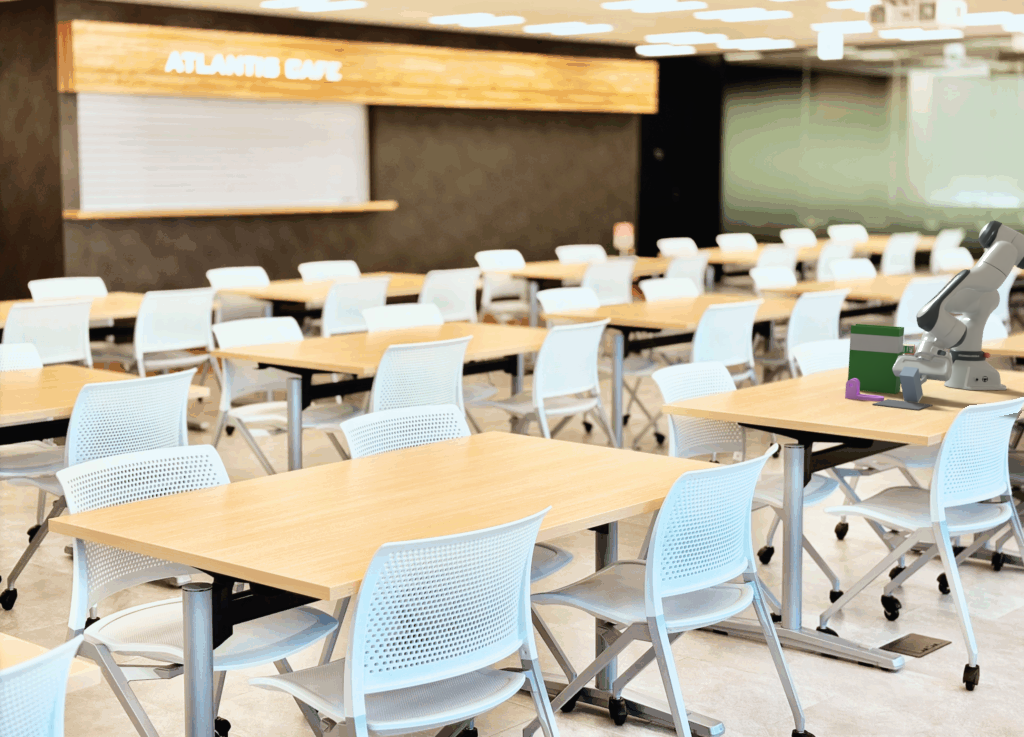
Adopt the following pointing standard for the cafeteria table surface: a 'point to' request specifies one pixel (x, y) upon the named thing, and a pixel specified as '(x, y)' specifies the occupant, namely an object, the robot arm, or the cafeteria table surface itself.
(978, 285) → the robot arm
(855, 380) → the bracket
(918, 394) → the slate block
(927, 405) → the mat
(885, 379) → the hardback book
